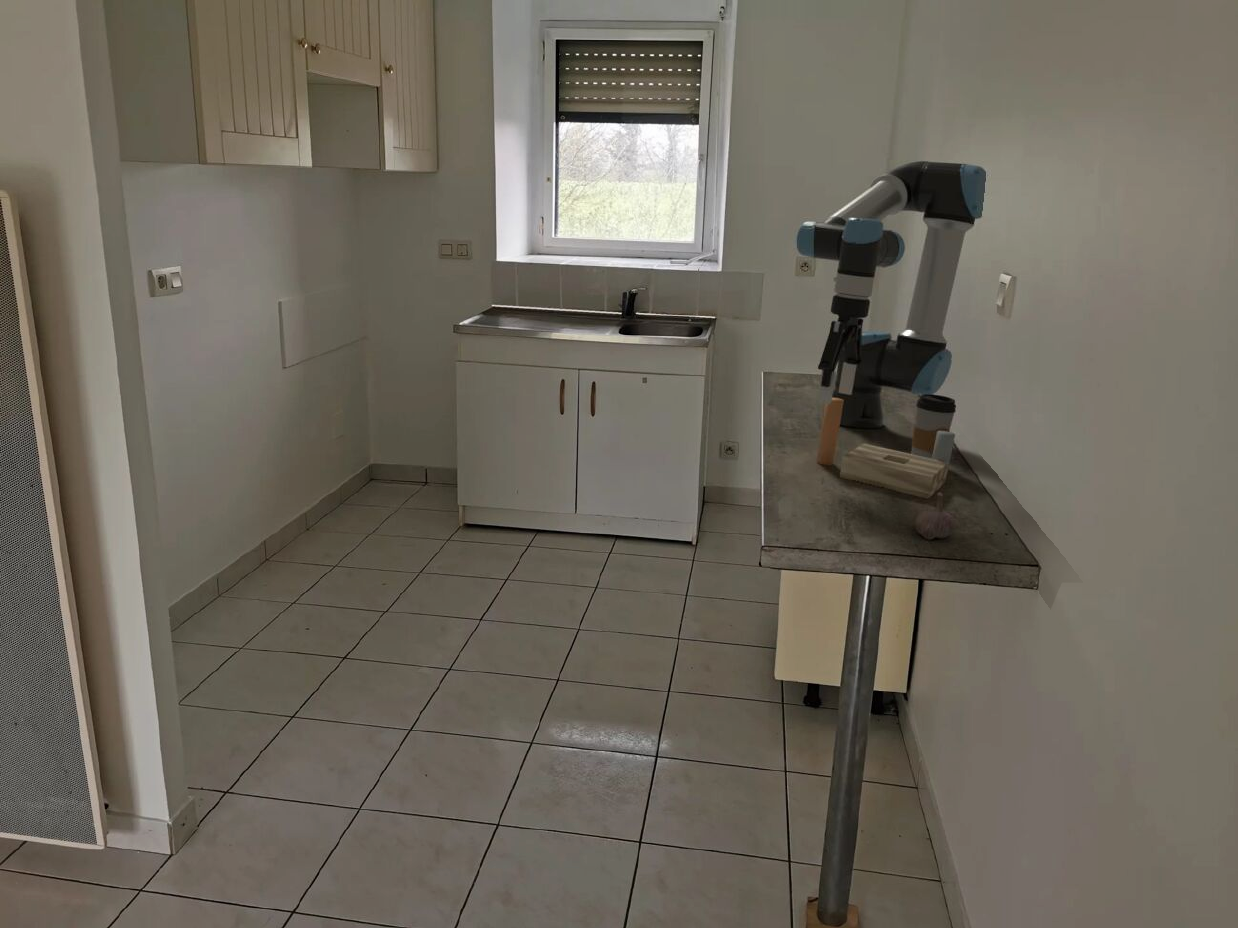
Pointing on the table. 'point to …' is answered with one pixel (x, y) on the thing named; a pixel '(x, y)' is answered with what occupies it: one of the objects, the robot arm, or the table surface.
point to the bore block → (894, 470)
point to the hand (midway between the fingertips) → (834, 397)
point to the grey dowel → (943, 446)
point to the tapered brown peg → (829, 431)
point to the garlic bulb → (935, 522)
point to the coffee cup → (931, 422)
